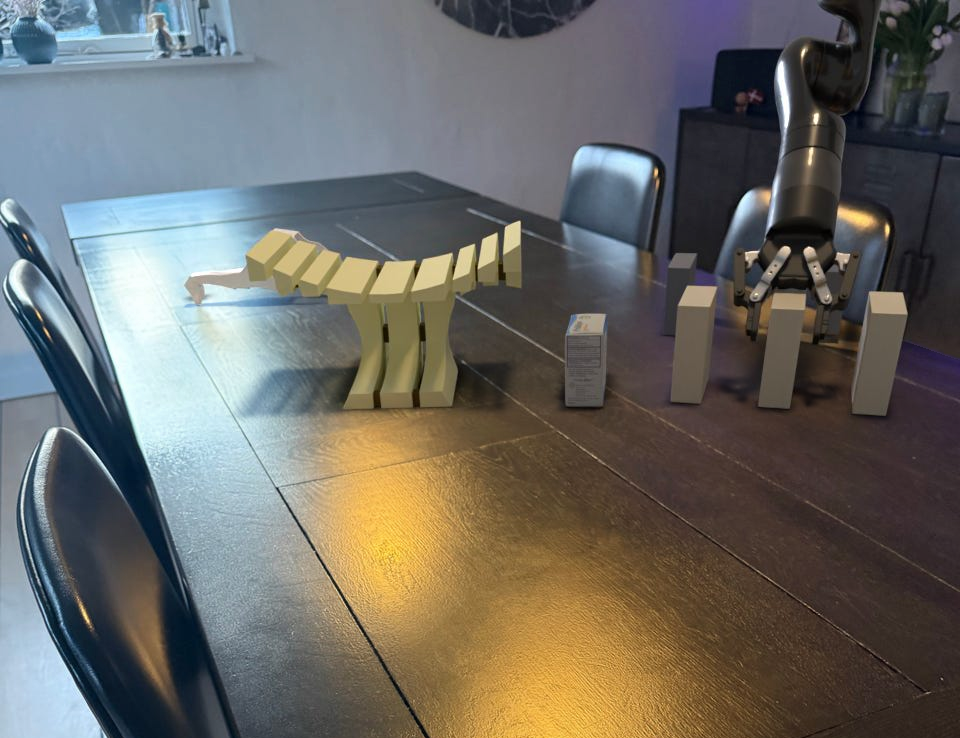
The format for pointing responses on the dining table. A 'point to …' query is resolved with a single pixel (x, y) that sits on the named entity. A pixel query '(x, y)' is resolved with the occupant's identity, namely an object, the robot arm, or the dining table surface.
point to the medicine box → (585, 360)
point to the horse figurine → (236, 275)
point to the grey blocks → (684, 275)
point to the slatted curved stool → (392, 309)
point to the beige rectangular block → (782, 348)
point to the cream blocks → (871, 364)
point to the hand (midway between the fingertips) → (784, 339)
